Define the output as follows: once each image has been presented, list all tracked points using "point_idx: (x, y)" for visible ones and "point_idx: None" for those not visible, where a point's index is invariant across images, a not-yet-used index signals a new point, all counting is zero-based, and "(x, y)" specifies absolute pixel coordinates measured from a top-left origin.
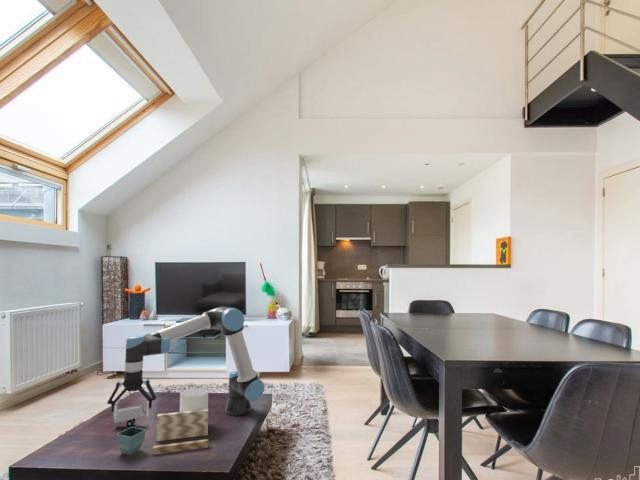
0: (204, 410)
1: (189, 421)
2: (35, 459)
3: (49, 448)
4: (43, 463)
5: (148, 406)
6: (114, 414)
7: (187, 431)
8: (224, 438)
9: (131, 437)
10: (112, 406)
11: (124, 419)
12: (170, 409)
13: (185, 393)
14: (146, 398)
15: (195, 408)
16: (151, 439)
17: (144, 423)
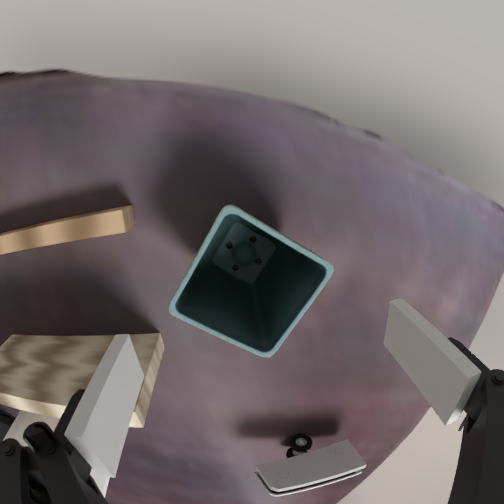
0: None
1: (26, 370)
2: (499, 251)
3: (480, 312)
4: (486, 221)
5: (81, 398)
6: (423, 322)
7: (48, 347)
8: None
9: (226, 206)
10: (480, 368)
11: (321, 451)
12: (204, 493)
13: None
14: (75, 483)
15: (21, 426)
16: (186, 351)
17: (255, 449)
